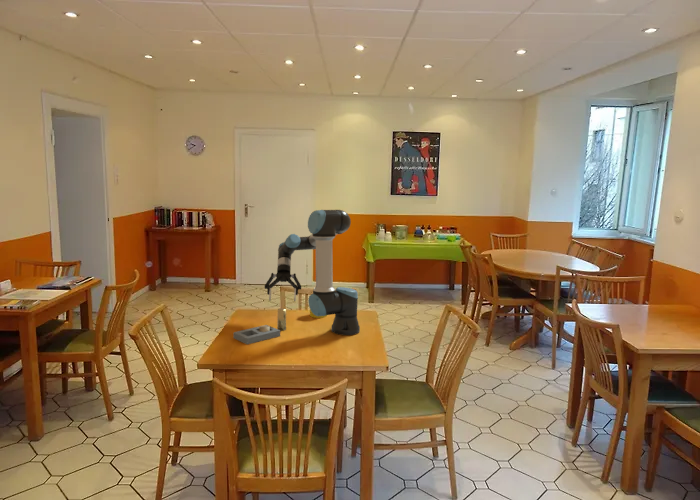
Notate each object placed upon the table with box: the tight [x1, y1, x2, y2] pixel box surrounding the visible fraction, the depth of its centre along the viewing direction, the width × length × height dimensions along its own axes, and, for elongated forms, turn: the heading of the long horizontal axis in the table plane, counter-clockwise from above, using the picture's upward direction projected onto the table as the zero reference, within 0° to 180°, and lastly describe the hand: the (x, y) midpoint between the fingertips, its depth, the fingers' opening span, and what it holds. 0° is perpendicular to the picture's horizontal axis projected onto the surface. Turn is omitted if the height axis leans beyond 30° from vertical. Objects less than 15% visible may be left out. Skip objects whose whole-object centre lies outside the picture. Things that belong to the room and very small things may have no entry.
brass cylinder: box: [276, 307, 287, 332], centre depth 268 cm, size 4×4×11 cm
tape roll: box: [309, 309, 328, 319], centre depth 297 cm, size 10×10×9 cm
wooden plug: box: [258, 324, 270, 332], centre depth 259 cm, size 5×5×4 cm
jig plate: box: [232, 324, 281, 345], centre depth 256 cm, size 12×20×3 cm, turn 135°
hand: (282, 299), depth 277 cm, fingers open, 13 cm apart
